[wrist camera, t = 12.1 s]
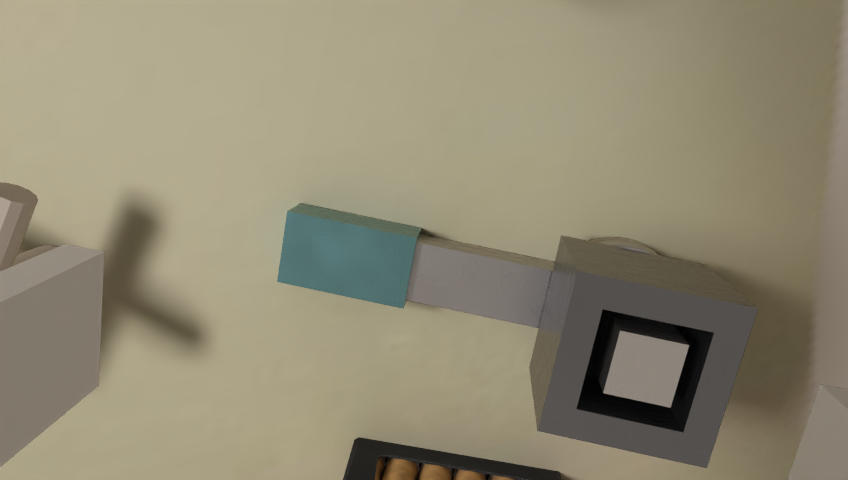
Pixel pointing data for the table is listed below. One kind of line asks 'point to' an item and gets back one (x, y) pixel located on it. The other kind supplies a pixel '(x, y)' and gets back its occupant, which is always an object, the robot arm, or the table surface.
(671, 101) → the table surface
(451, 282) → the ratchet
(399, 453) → the ammunition clip
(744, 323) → the socket
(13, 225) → the pipe connector
